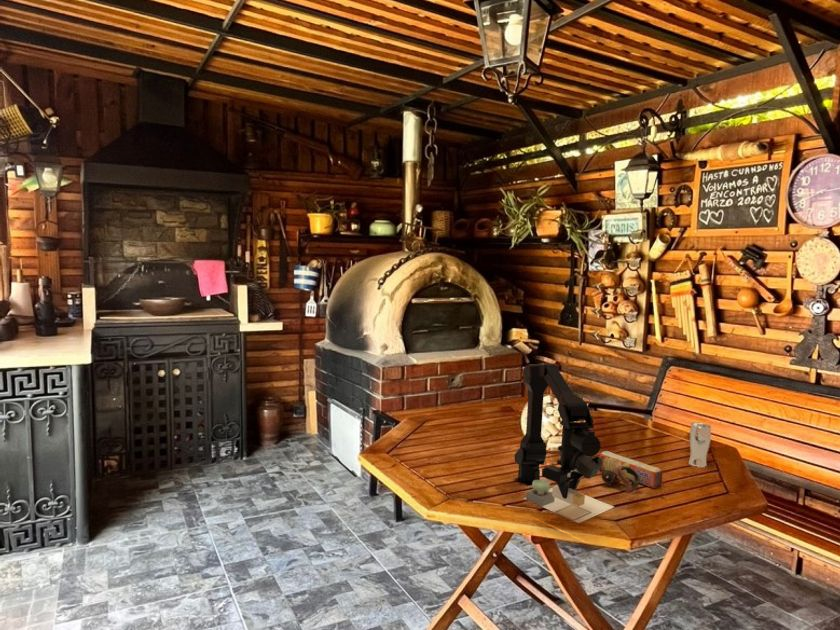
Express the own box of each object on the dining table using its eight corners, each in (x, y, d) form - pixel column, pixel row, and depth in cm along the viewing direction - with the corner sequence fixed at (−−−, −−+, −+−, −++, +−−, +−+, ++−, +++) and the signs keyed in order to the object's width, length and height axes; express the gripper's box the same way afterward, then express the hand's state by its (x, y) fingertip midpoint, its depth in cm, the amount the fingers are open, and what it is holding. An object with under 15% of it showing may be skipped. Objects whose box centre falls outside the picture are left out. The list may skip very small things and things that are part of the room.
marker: (552, 496, 170) (552, 486, 170) (558, 493, 172) (559, 483, 172) (578, 507, 164) (579, 496, 163) (584, 504, 165) (585, 494, 165)
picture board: (523, 500, 179) (523, 498, 179) (559, 486, 190) (559, 484, 190) (578, 525, 164) (578, 522, 164) (614, 508, 175) (614, 506, 175)
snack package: (663, 486, 195) (664, 466, 194) (653, 490, 190) (655, 470, 190) (606, 466, 211) (607, 448, 210) (596, 470, 206) (597, 452, 206)
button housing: (525, 501, 178) (526, 491, 178) (538, 496, 182) (539, 487, 182) (541, 508, 174) (542, 498, 173) (554, 503, 177) (554, 493, 177)
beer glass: (684, 464, 215) (688, 424, 214) (690, 459, 221) (694, 421, 219) (704, 469, 211) (708, 429, 209) (710, 464, 216) (714, 425, 214)
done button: (528, 496, 178) (528, 482, 177) (539, 492, 181) (539, 478, 181) (541, 502, 174) (542, 487, 173) (552, 498, 177) (553, 483, 177)
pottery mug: (623, 482, 198) (636, 465, 194) (633, 504, 190) (646, 488, 186) (592, 474, 195) (604, 457, 191) (600, 497, 187) (613, 480, 183)
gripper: (575, 459, 154) (571, 515, 156) (615, 446, 166) (611, 498, 168) (542, 447, 163) (538, 501, 164) (581, 435, 174) (578, 485, 176)
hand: (568, 496), depth 168 cm, fingers closed on marker, 3 cm apart
